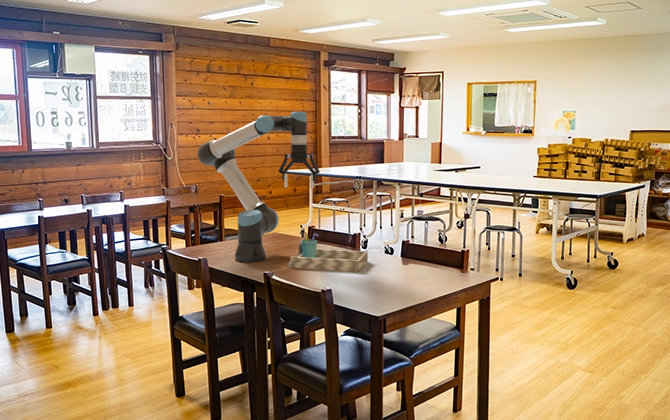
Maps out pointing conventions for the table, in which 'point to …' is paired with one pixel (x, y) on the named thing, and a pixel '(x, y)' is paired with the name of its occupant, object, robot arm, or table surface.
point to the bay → (331, 260)
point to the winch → (300, 249)
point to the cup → (309, 246)
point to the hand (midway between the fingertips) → (299, 187)
